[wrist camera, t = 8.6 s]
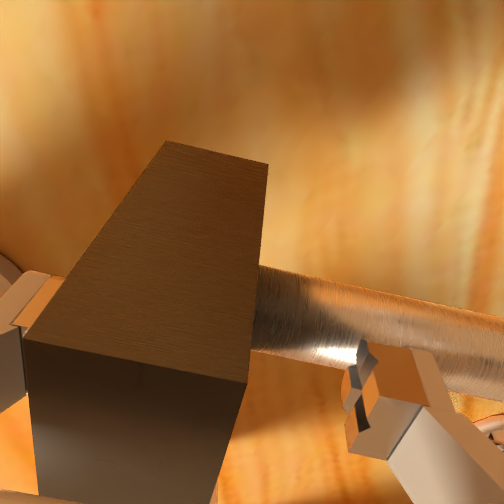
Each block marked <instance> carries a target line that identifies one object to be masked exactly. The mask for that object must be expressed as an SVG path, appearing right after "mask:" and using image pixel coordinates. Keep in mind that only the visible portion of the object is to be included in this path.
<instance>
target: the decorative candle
mask: <svg viewBox="0 0 504 504" xmlns="http://www.w3.org/2000/svg"><path fill="white" fill-rule="evenodd" d="M473 424H474V425H475V426H476V427H477V428H478V429H479V430H480V431H481V432H482V433H483V434H484V435H485V436H487V437H488V438H489V439H490V440H491V441H492V442H493V443H494V444H495V445H496V446H497V447H498V448H499V449H500V450H501V451H502V452H503V453H504V415H497V416H490V417H488V418H485V419H482V420H480V421H477V422H474V423H473Z"/></svg>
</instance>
